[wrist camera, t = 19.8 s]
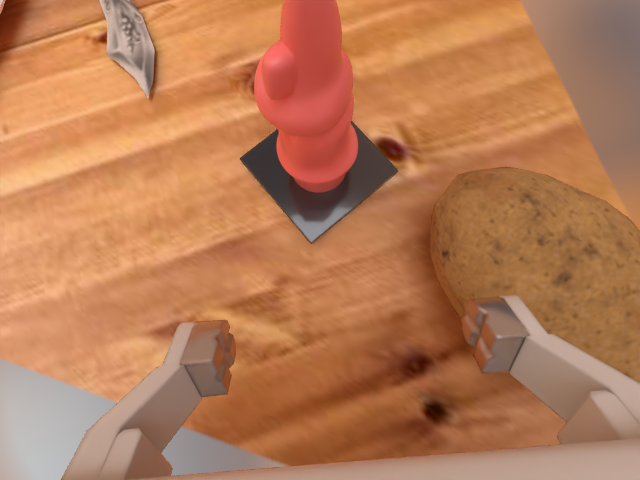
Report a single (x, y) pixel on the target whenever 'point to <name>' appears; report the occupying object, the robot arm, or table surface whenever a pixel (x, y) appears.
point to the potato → (543, 258)
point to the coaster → (327, 207)
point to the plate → (1, 5)
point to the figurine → (309, 95)
